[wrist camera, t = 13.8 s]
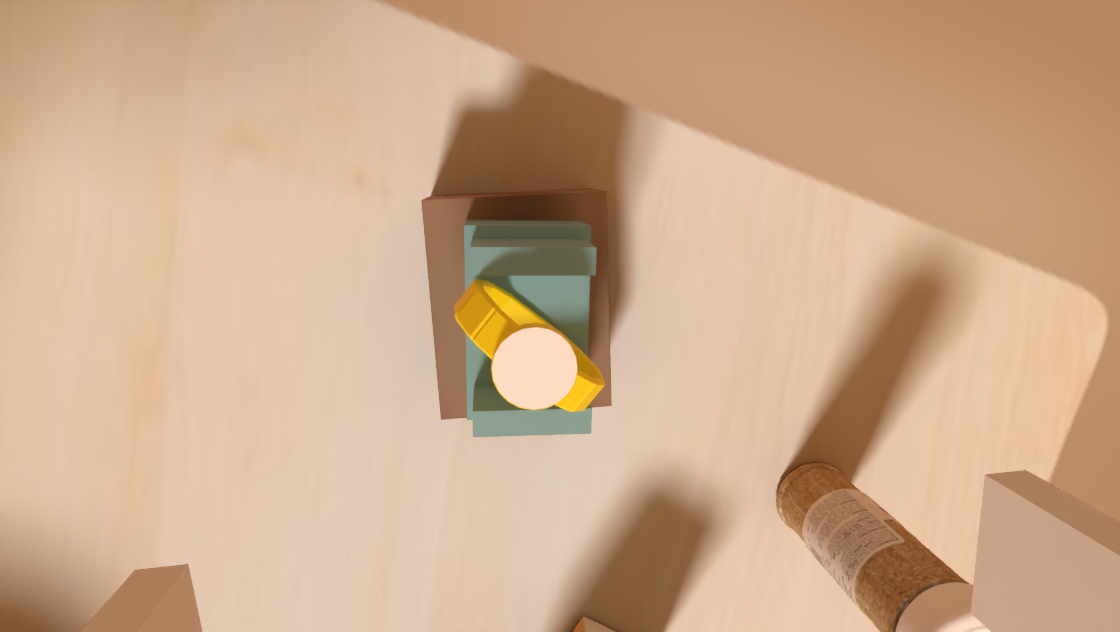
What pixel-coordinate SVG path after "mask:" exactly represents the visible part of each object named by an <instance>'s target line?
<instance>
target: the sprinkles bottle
mask: <svg viewBox="0 0 1120 632" xmlns="http://www.w3.org/2000/svg"><path fill="white" fill-rule="evenodd" d="M776 502H777V511H778V513H779V515H780V517H781V519H782V520H783V521H784V522H785V524H786V525H787V526H788V527H790V528H792V529H793V530H794V531H795V532H796V533H797V534H798V535H799V536H800V538H801V539H802V540H803V541H804V542H805V544H806V546H807V548H808V549H809V551H810V552H811V553H812V554H813V555H814V557H815V558H816V559H817V560H818V561H819V563H820V564H821V565H822V566H823V567H824V568H825V570H826V571H827V572H828V573H829V574H830V575H831V576H832V578H833V579H834V580H835V581H836V582H837V583H838V585H839V586H840V587H841V588H842V589H843V590H844V592H845V593H846V594H847V595H848V596H849V598H850V599H851V600H852V601H853V602H854V603H855V605H856V606H857V607H858V608H859V609H860V611H861V612H862V613H863V614H865V615H866V616H867V617H868V618H869V619H870V620H871V621H872V622H873V623H874V625H875V626H876V627H877V628H878V629H879V630H880V632H991V631H990V630H989V629H988V628H987V627H986V626H984V625H983V624H982V623H981V622H980V621H979V620H978V619H977V618H976V617H974V616H973V615H972V614H971V604H972V594H973V585H971V584H969V583H967V582H966V581H965V580H964V579H962V578H961V577H960V576H959V575H958V574H956V573H955V572H954V571H953V570H952V569H951V568H949V567H948V566H947V565H946V564H945V563H944V562H943V561H941V560H940V559H939V558H938V557H937V556H935V555H934V554H933V553H932V552H931V551H930V550H929V549H928V548H926V547H925V546H924V545H923V544H921V542H920V541H919V540H918V539H917V538H916V537H914V536H913V535H912V534H911V533H909V532H908V531H907V530H906V529H905V528H904V527H903V526H902V525H901V524H900V523H899V522H898V521H897V520H896V519H895V518H893V517H892V516H891V515H890V514H889V513H887V512H886V511H885V510H884V509H883V508H882V507H880V506H879V505H878V504H877V503H876V502H875V501H873V500H872V499H871V498H870V497H869V496H867V495H866V494H864V493H862V492H861V491H860V490H858V489H857V488H856V487H855V486H854V485H853V484H851V483H850V482H849V481H848V480H847V479H846V477H845V476H844V475H843V474H842V473H841V472H840V471H839V470H838V469H837V468H835V467H834V466H831V465H828V464H825V463H809V464H806V465H802V466H800V467H798V468H797V469H796V470H794V471H792V472H791V473H790V474H789V475H788V476H786V477H785V479H784V480H783V482H782V483H781V484H780V487H779V489H778V493H777V499H776Z"/></svg>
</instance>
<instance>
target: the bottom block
mask: <svg viewBox="0 0 1120 632" xmlns="http://www.w3.org/2000/svg"><path fill="white" fill-rule="evenodd" d="M422 211H423V222H424V233H425V244H426V256H427V267H428V278H429V289H430V300H431V312H432V323H433V334H434V345H435V356H436V368H437V379H438V390H439V401H440V412H441V420H442V419H454V418H467V382H466V333H465V331H464V330H463V329H462V327H461V326H460V325H459V323H458V322H457V321H456V319H455V312H454V305H455V304H456V303H457V301H458V300H459V299H460V297H461V296H462V295H463V294H464V292H465V255H464V224H465V221H466V220H543V221H582V222H584V223H586V224H588V225H590V226H591V244H592V245H594V246H595V247H597V249H596V276H590V297H589V333H588V358H589V359H590V360H591V361H592V362H593V363H594V365H595V366H596V367H597V368H598V369H599V370H600V372H601V373H602V376H603V378H604V380H605V386H604V387H603V388H602V389H601V391H600V392H599V393H598V394H597V395H596V397H595V398H594V399H593V400H592V401H591V403H590V405H591V407H602V406H612V405H611V365H610V325H609V285H608V245H607V205H606V191H600V190H594V189H574V190H553V191H531V192H509V193H488V194H466V195H445V196H430V197H428V198H425V199H423V200H422Z"/></svg>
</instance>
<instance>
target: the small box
mask: <svg viewBox="0 0 1120 632" xmlns="http://www.w3.org/2000/svg"><path fill="white" fill-rule="evenodd" d="M573 632H616V631H613V630H611V629H609V628H607V627H605V626H603V625H601V624H599V623H597V622H595V621H593V620H591V619H589V618H587V617H582V618H581V620H580V621H579V623H578V624H577V626H576V627H575V629H574V631H573Z"/></svg>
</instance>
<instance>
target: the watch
mask: <svg viewBox="0 0 1120 632" xmlns="http://www.w3.org/2000/svg"><path fill="white" fill-rule="evenodd" d="M454 312H455V319H456V321H457V322H458V323H459V325H460V326H461V327H462V329H463V330H464V331H465V333H466V334H467V335H468V337H469V338H470V339H471V340H473V342H474V343H475V344H476V345H477V346H478V347H479V348H480V349H481V350H482V351H483V352H484V353H485V354H486V355H487V356H488V357H489V358H490V359H492V362H491V372H492V379H493V382H494V384H495V386H496V388H497V390H498V392H499V393H500V394H501V395H502V396H503V397H504V398H505V399H506V400H507V401H508V402H509V403H511V404H513V405H515V406H517V407H519V408H523V409H529V410H538V409H546V408H548V407H551V406H553V405H556V406H558V407H560V408H562V409H564V410H567V411H570V412H576V411H584V410H585V409H586V407H587V406H588V405H589V404H590V403H591V401H592V400H593V399H594V398H595V397H596V395H597V394H598V393H599V392H600V391H601V389H602V388H603V387H604V386H605V380H604V378H603V376H602V373H601V372H600V370H599V369H598V368H597V367H596V366H595V365H594V363H593V362H592V361H591V360H590V359H589V358H588V357H587V356H586V355H585V354H584V352H582V351H581V350H580V349H579V348H578V347H577V346H576V345H575V344H574V343H573V342H572V341H571V340H569V339H568V338H567V337H566V336H565V335H564V334H563V333H562V332H561V331H559V330H557V329H556V328H555V327H553V326H552V325H551V324H549V323H548V322H547V321H545V320H544V319H543V318H541V317H540V316H539V315H537V314H536V313H535V312H534V311H532V310H531V309H530V308H528V307H527V306H526V305H524V304H523V303H522V302H520V301H519V300H518V299H516V298H515V297H514V295H513V294H511V293H509V292H507V291H506V290H504V289H502V288H500V287H499V286H497V285H495V284H493V283H492V282H489V281H486V280H482V279H475V280H474V281H473V282H472V283H471V285H470V286H469V287H468V289H467V290H466V291H465V292H464V294H463V295H462V296H461V297H460V299H459V300H458V301H457V303H456V304H455V305H454Z"/></svg>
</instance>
